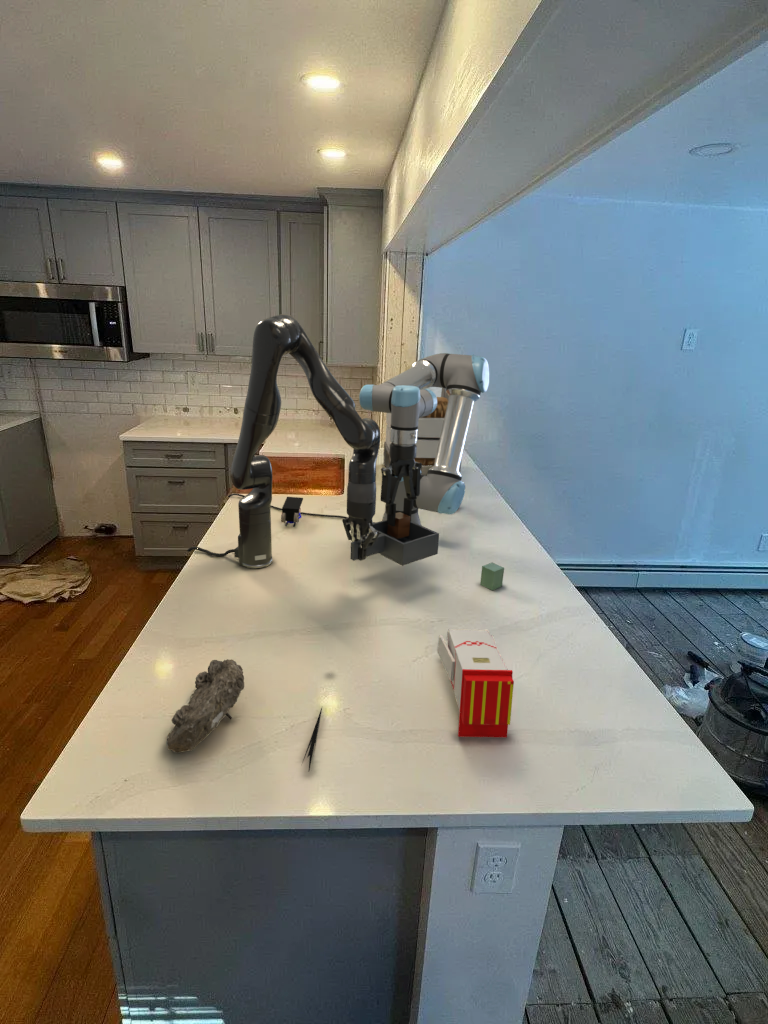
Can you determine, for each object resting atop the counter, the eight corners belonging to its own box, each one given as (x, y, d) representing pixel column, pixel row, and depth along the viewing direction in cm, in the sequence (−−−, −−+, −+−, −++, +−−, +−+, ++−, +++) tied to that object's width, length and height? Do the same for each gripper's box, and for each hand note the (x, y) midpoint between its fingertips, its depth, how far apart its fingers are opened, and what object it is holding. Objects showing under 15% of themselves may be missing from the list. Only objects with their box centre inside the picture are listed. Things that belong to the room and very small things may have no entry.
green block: (480, 584, 165) (482, 566, 163) (489, 580, 168) (492, 562, 166) (492, 590, 162) (494, 571, 160) (502, 586, 165) (504, 567, 163)
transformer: (382, 463, 289) (386, 382, 275) (445, 464, 293) (451, 384, 279) (390, 482, 257) (394, 392, 243) (460, 483, 261) (468, 394, 247)
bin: (333, 554, 157) (333, 533, 155) (398, 535, 172) (399, 516, 170) (371, 576, 145) (372, 553, 143) (437, 553, 161) (439, 533, 158)
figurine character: (299, 532, 200) (304, 513, 214) (298, 513, 197) (303, 495, 210) (280, 532, 200) (286, 513, 213) (279, 512, 197) (285, 494, 210)
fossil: (192, 660, 117) (244, 628, 112) (224, 691, 120) (276, 661, 115) (142, 746, 98) (202, 712, 93) (182, 779, 101) (242, 748, 96)
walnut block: (387, 533, 165) (388, 514, 163) (398, 531, 168) (400, 512, 166) (397, 538, 162) (399, 519, 160) (409, 535, 165) (410, 516, 163)
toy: (488, 613, 130) (523, 677, 101) (484, 667, 133) (517, 744, 104) (435, 612, 130) (455, 676, 101) (432, 666, 133) (451, 743, 103)
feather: (331, 679, 122) (336, 673, 122) (307, 777, 96) (313, 769, 95) (324, 675, 122) (329, 669, 121) (298, 772, 95) (304, 764, 95)
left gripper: (334, 492, 149) (333, 553, 155) (366, 507, 139) (364, 571, 145) (356, 488, 154) (354, 546, 159) (389, 501, 144) (386, 563, 150)
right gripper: (386, 450, 147) (383, 533, 155) (436, 442, 159) (430, 519, 167) (368, 444, 152) (365, 525, 160) (418, 437, 164) (413, 512, 172)
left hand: (359, 558), depth 152 cm, fingers closed on bin, 1 cm apart
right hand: (398, 522), depth 163 cm, fingers open, 5 cm apart
